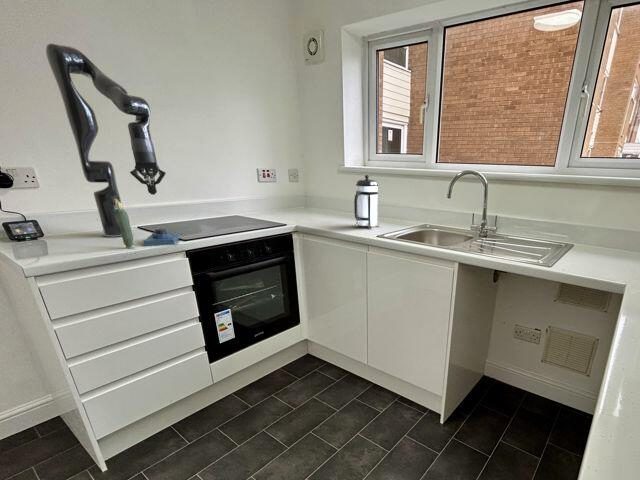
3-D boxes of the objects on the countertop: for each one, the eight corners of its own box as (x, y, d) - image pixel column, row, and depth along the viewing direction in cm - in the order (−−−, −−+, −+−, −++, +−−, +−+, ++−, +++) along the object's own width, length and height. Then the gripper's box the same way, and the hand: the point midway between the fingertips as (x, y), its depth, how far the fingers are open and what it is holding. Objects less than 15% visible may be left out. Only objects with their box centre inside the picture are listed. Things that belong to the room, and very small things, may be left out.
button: (157, 233, 158) (155, 228, 157) (167, 233, 159) (166, 228, 158) (155, 235, 154) (154, 230, 153) (165, 234, 156) (164, 230, 155)
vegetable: (138, 248, 146) (126, 198, 139) (128, 250, 142) (115, 199, 135) (131, 247, 147) (118, 198, 140) (120, 249, 143) (107, 198, 136)
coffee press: (351, 225, 217) (350, 173, 206) (376, 224, 220) (377, 174, 210) (354, 230, 201) (354, 175, 190) (382, 229, 205) (382, 175, 194)
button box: (151, 239, 162) (150, 230, 160) (179, 238, 166) (177, 229, 164) (145, 245, 150) (142, 236, 148) (174, 244, 154) (172, 235, 153)
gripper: (164, 151, 150) (172, 193, 156) (126, 150, 145) (136, 193, 151) (160, 151, 143) (169, 195, 150) (121, 149, 138) (132, 195, 145)
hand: (153, 194), depth 150 cm, fingers closed
